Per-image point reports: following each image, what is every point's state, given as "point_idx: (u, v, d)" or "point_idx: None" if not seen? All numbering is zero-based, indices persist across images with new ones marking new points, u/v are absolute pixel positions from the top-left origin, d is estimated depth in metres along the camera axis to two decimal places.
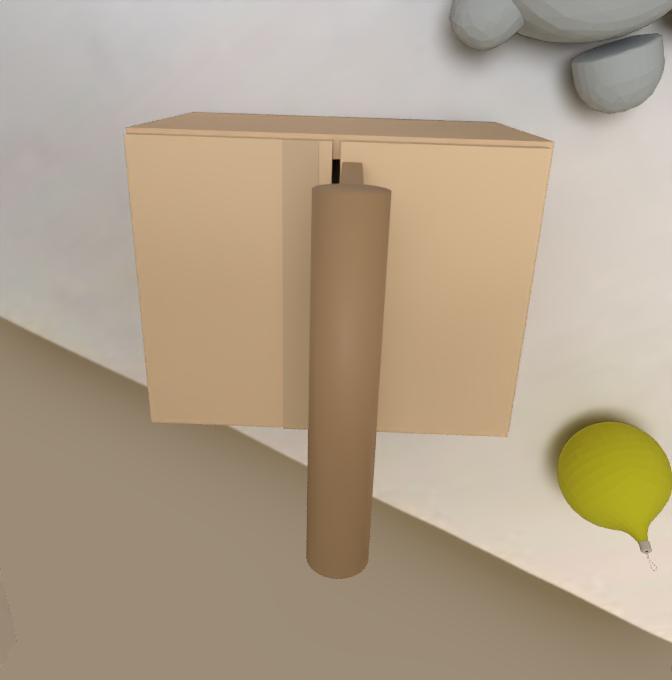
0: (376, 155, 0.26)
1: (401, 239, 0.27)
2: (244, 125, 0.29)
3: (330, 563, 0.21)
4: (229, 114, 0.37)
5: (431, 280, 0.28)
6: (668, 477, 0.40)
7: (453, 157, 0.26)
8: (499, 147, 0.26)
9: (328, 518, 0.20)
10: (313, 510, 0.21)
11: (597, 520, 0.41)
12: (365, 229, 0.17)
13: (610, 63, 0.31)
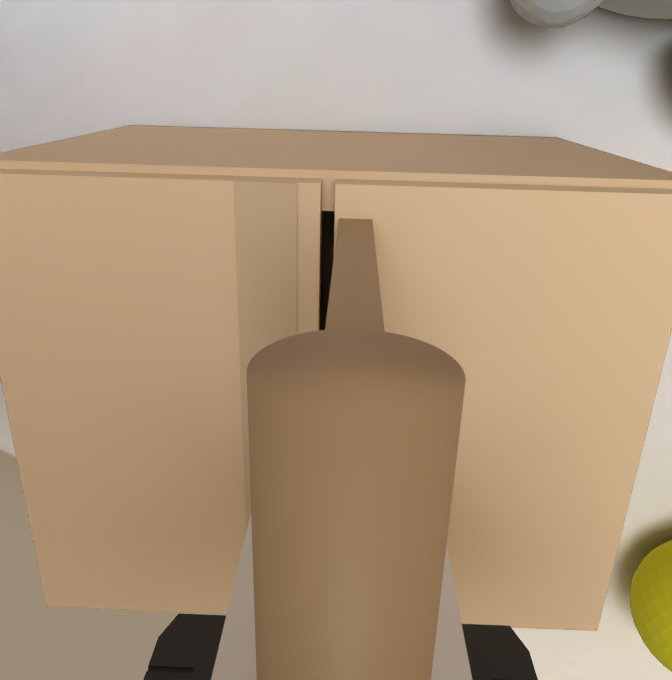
0: (397, 207, 0.15)
1: (438, 343, 0.16)
2: (183, 150, 0.19)
3: None
4: (179, 128, 0.26)
5: (486, 407, 0.17)
6: None
7: (531, 210, 0.15)
8: (612, 192, 0.15)
9: None
10: None
11: None
12: (395, 502, 0.06)
13: None
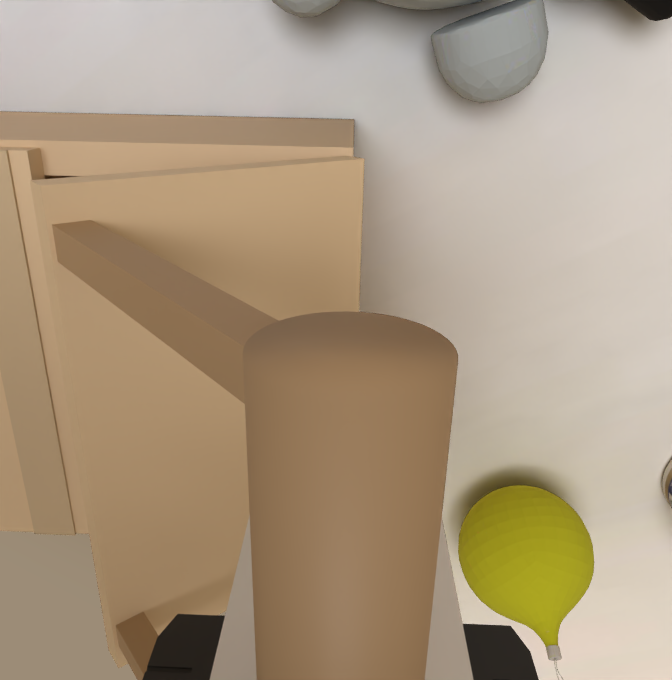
0: (115, 202, 0.14)
1: None
2: None
3: None
4: (11, 113, 0.29)
5: None
6: (585, 561, 0.32)
7: (241, 188, 0.16)
8: (300, 164, 0.17)
9: None
10: None
11: (500, 612, 0.33)
12: (443, 451, 0.06)
13: (470, 34, 0.23)
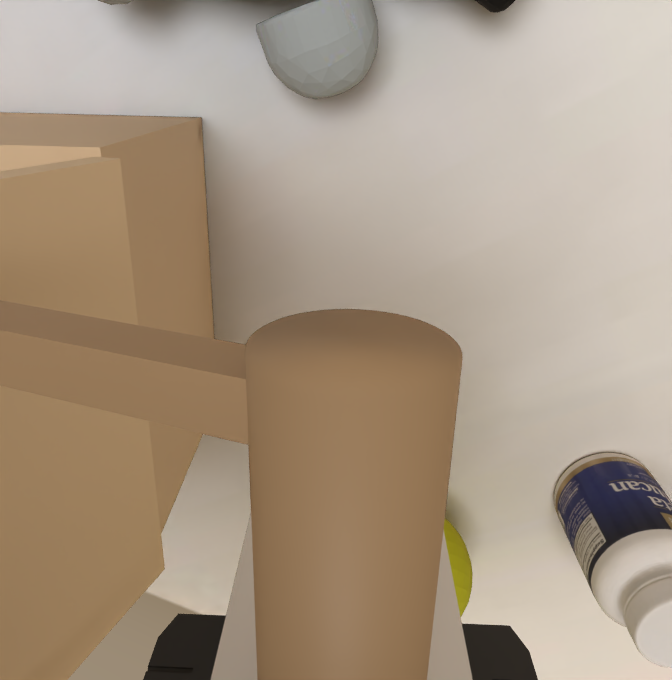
0: None
1: None
2: None
3: None
4: None
5: (24, 433, 0.15)
6: (457, 583, 0.30)
7: None
8: (56, 169, 0.14)
9: None
10: None
11: None
12: None
13: (282, 24, 0.22)
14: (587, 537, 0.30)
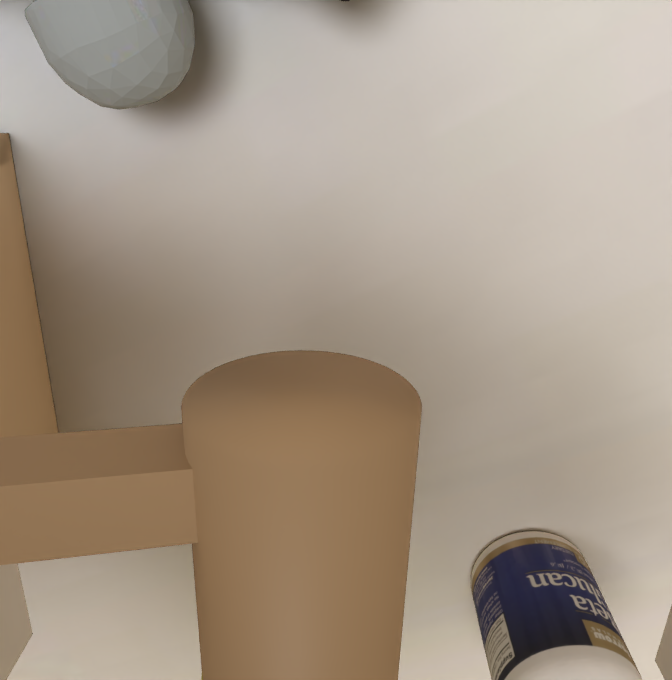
0: None
1: None
2: None
3: None
4: None
5: None
6: None
7: None
8: None
9: None
10: None
11: None
12: None
13: (44, 10, 0.16)
14: (496, 645, 0.25)
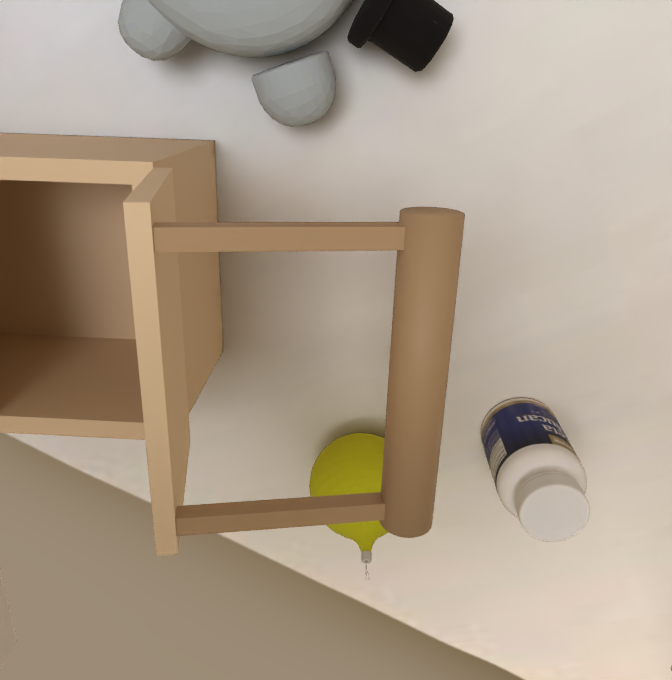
0: (155, 209, 0.21)
1: (166, 296, 0.23)
2: None
3: (432, 509, 0.26)
4: None
5: (173, 327, 0.25)
6: None
7: (164, 193, 0.24)
8: (166, 175, 0.25)
9: None
10: (431, 481, 0.25)
11: (335, 530, 0.42)
12: None
13: (268, 77, 0.32)
14: (496, 454, 0.40)
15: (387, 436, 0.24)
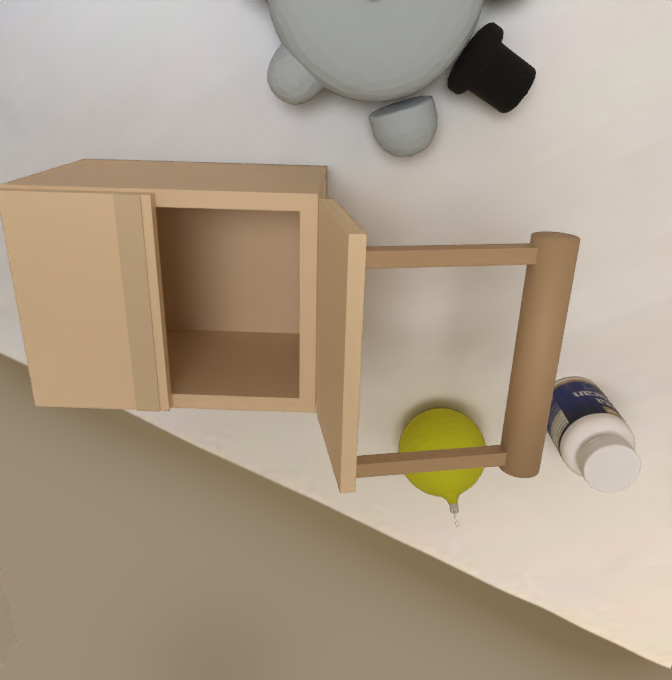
0: None
1: None
2: (100, 178, 0.39)
3: None
4: (111, 161, 0.46)
5: None
6: None
7: None
8: (338, 206, 0.33)
9: None
10: (543, 435, 0.33)
11: (423, 488, 0.50)
12: None
13: (388, 119, 0.40)
14: (558, 423, 0.49)
15: (511, 401, 0.33)
